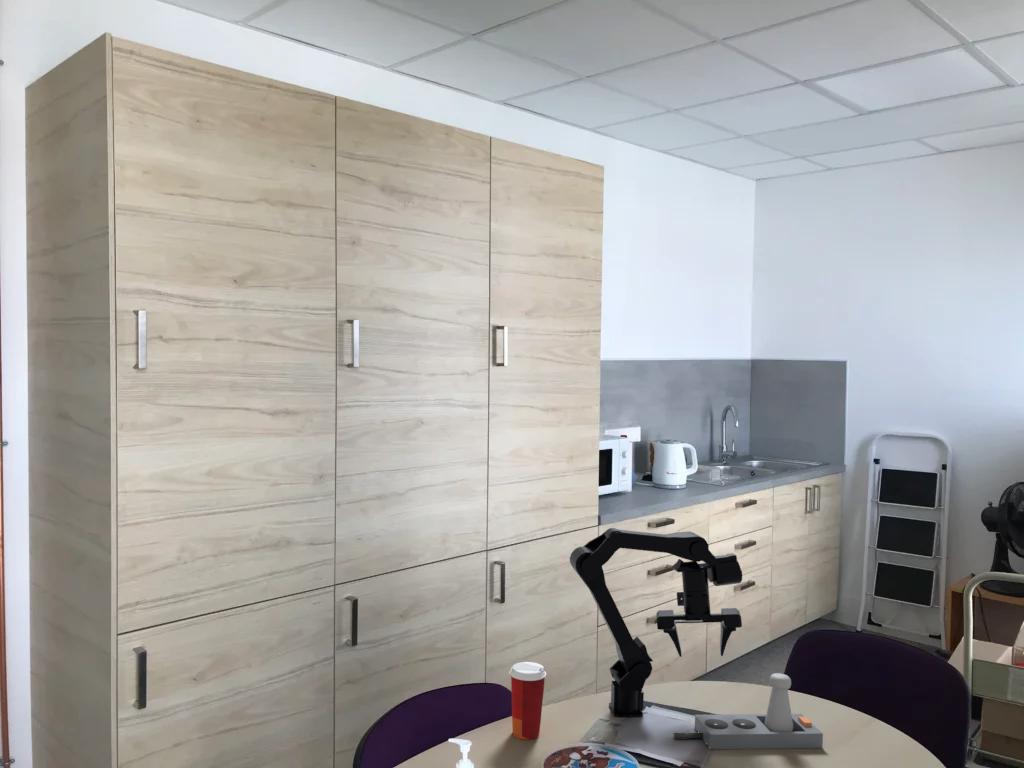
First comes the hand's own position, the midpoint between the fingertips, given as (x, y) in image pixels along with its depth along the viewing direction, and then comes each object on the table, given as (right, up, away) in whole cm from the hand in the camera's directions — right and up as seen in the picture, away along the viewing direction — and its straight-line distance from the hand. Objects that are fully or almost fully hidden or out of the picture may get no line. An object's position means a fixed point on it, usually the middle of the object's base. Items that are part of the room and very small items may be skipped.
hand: (701, 655), depth 182 cm
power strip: (+6, -13, -14) cm, 20 cm away
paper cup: (-40, -11, -15) cm, 45 cm away
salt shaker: (+13, -13, -13) cm, 23 cm away
